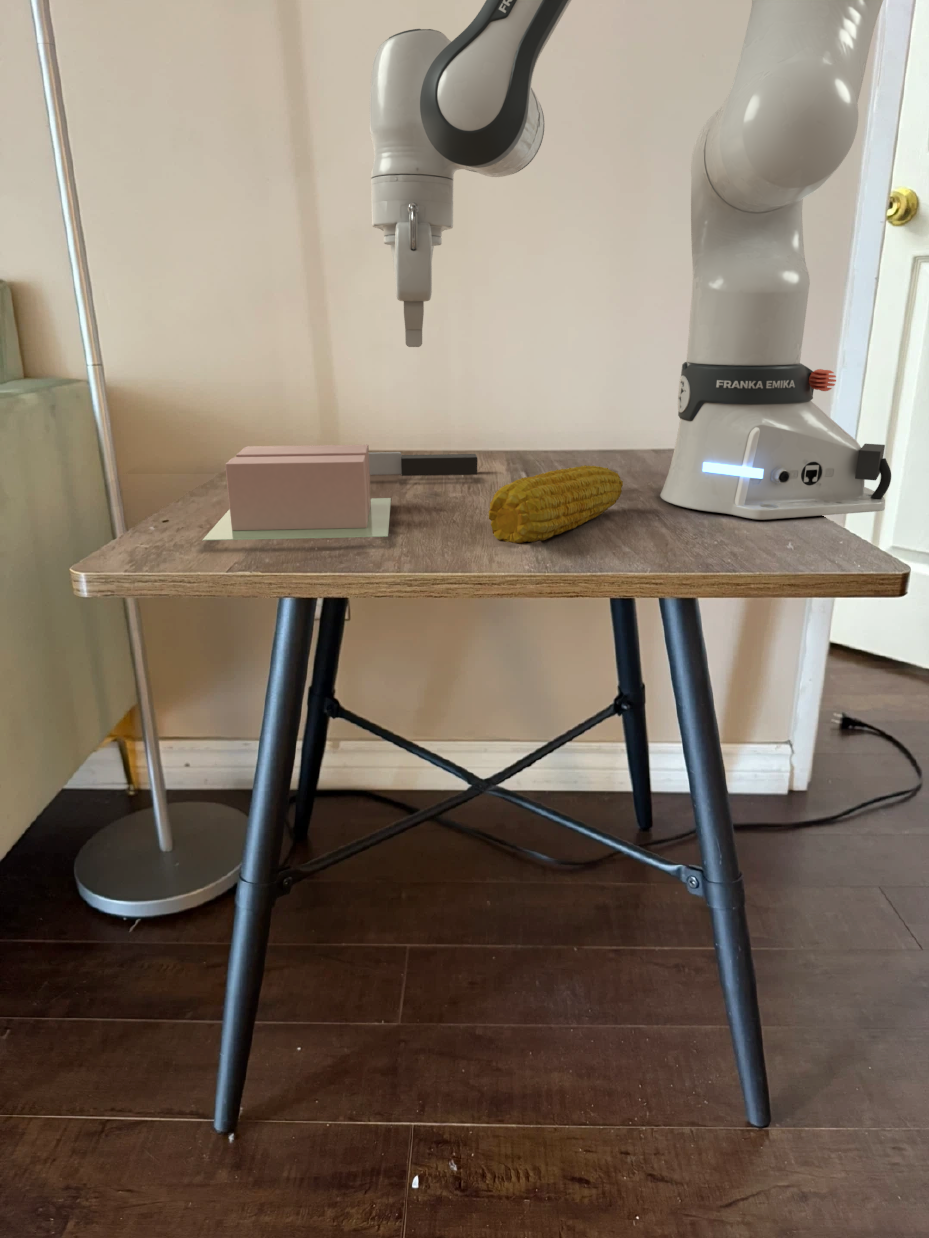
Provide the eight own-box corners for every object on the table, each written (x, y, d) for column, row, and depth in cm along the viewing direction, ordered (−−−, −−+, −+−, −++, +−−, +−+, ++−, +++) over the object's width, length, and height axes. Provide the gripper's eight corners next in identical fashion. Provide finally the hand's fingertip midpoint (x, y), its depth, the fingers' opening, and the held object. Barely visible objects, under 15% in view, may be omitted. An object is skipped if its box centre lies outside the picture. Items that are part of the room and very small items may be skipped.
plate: (391, 507, 90) (391, 497, 90) (388, 547, 75) (388, 536, 75) (237, 510, 89) (236, 500, 89) (202, 551, 74) (201, 540, 74)
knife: (475, 478, 105) (475, 449, 104) (477, 482, 103) (477, 453, 101) (285, 481, 104) (283, 452, 102) (282, 485, 101) (280, 456, 100)
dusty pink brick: (368, 519, 81) (365, 455, 79) (366, 528, 77) (363, 461, 75) (238, 521, 80) (232, 457, 78) (231, 530, 77) (225, 463, 75)
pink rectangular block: (371, 504, 87) (368, 444, 85) (369, 515, 82) (366, 452, 80) (250, 506, 86) (245, 446, 84) (241, 518, 81) (235, 454, 79)
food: (536, 559, 71) (537, 488, 69) (478, 550, 74) (477, 481, 72) (632, 510, 88) (635, 452, 86) (582, 504, 91) (584, 447, 89)
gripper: (445, 200, 83) (445, 349, 88) (438, 220, 102) (438, 341, 107) (380, 199, 83) (383, 349, 88) (385, 219, 102) (387, 341, 107)
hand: (413, 345), depth 97 cm, fingers open, 8 cm apart
